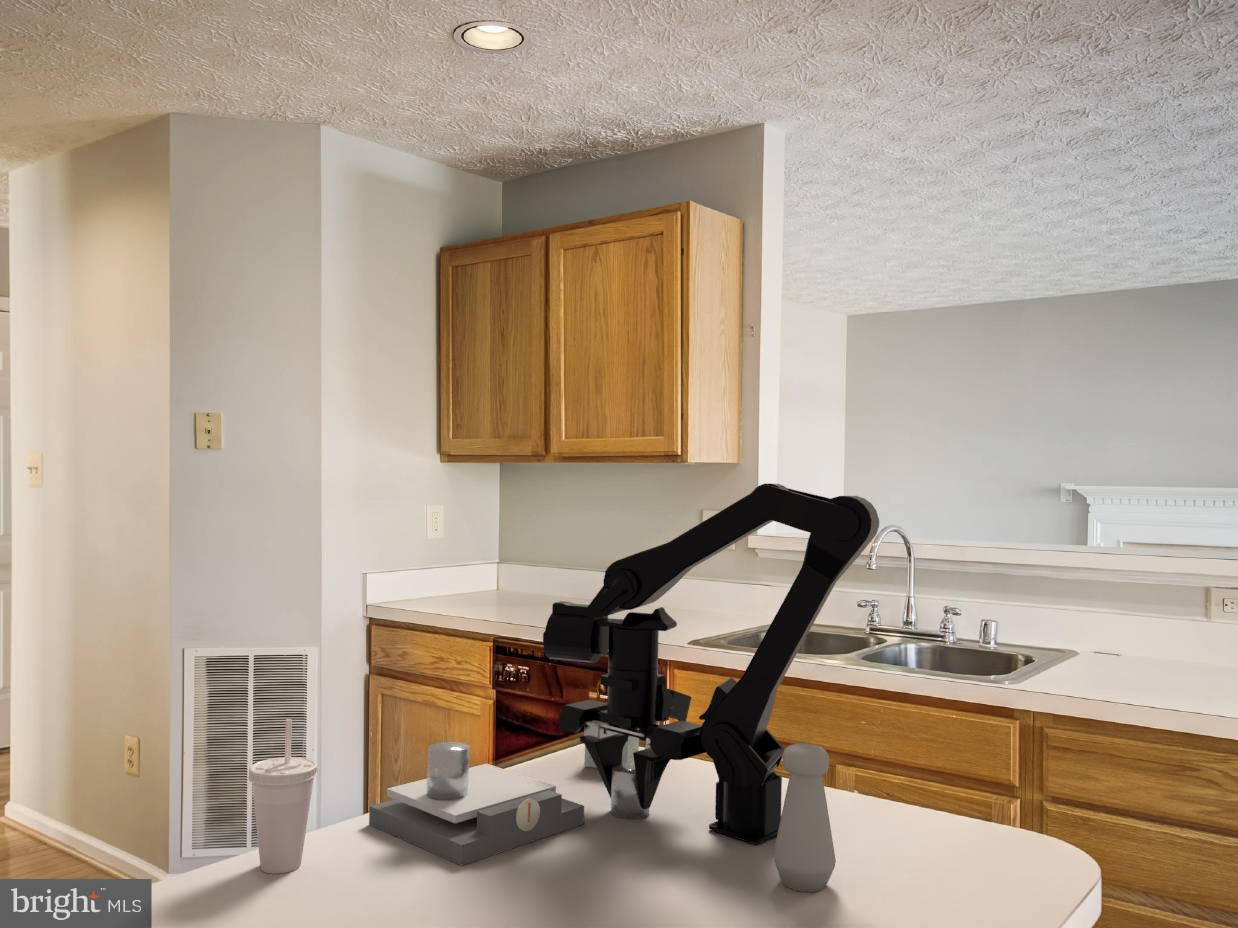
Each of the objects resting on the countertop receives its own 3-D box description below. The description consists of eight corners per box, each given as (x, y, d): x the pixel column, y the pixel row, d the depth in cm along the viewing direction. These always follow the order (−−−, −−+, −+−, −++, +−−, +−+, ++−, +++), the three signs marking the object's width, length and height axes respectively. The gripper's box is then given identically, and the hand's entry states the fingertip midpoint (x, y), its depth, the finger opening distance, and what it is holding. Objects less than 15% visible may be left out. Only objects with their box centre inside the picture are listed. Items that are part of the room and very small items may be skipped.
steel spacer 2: (657, 812, 114) (658, 768, 114) (631, 821, 111) (632, 776, 111) (628, 803, 117) (629, 760, 117) (602, 812, 114) (603, 768, 114)
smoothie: (329, 860, 98) (333, 717, 98) (282, 884, 92) (286, 732, 92) (279, 849, 100) (283, 710, 101) (230, 871, 95) (234, 723, 95)
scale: (586, 824, 109) (587, 782, 109) (463, 866, 97) (464, 819, 97) (490, 790, 120) (491, 752, 121) (369, 824, 108) (370, 781, 108)
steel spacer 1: (475, 795, 107) (478, 748, 107) (440, 802, 104) (442, 754, 104) (453, 785, 110) (455, 739, 110) (418, 791, 107) (421, 745, 107)
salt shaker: (840, 897, 92) (842, 755, 92) (777, 895, 92) (780, 753, 92) (828, 872, 97) (830, 739, 98) (769, 870, 98) (771, 737, 98)
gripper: (740, 669, 114) (738, 806, 113) (620, 648, 126) (618, 771, 126) (679, 682, 105) (676, 830, 105) (557, 658, 118) (554, 790, 118)
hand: (630, 803), depth 114 cm, fingers closed on steel spacer 2, 4 cm apart
